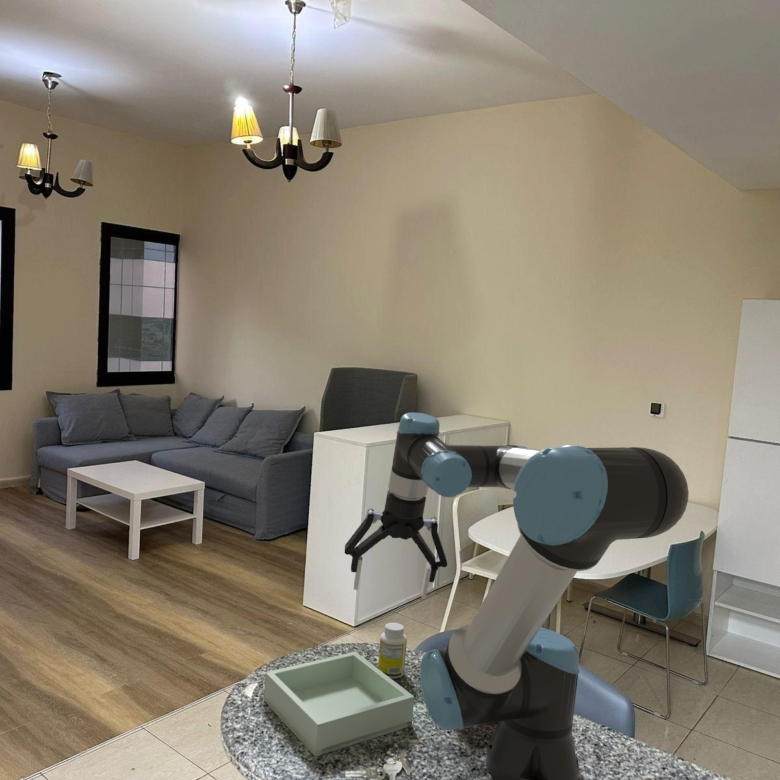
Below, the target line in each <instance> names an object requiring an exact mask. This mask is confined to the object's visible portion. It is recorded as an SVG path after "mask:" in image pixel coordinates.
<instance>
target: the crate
mask: <svg viewBox="0 0 780 780" xmlns="http://www.w3.org/2000/svg"><path fill="white" fill-rule="evenodd" d="M263 687H264V689H263V702H264V701H265V702H266V703H267V704H268V705H269V706H268V705H267V704H266V703H265V702H264V703H265V704H266V705H267V706H268V707H269V708H270V709H271V710H272V711H273V712H274V714H276V716H277V717H278V718H279V719H280V720H281V721H282V722H283V723H284V725H286V726H287V727H288V729H289V730H290V731H291V732H292V734H294V735H295V736H296V737H297V739H298V740H299V741H300V742H301V743H302V744H303V745H304V746H305V747H306V748H307V749H308V750H309V752H311V754H313V756H314V757H318V756H322V755H325V754H328V753H331V752H334V751H338V750H341V749H344V748H347V747H349V746H353V745H356V744H359V743H362V742H365V741H368V740H372V739H375V738H377V737H380V736H384V735H387V734H391V733H393V732H396V731H400V730H403V729H407V728H409V727H412V725H413V716H414V715H413V714H414V705H415V696H414V695H413V694H411V693H410V692H409V691H408V690H406V689H405V688H404V687H403V686H401V685H400V684H398V683H397V682H396V681H394V679H391V678H389V677H388V676H387V675H385V674H384V673H383V672H381V671H380V670H379V669H378V667H376V666H375V665H374V664H372V663H371V662H370V661H369V660H367V659H365V658H364V657H363V656H362V655H361V654H359V653H358V652H357V651H352V652H347V653H344V654H338V655H334V656H331V657H330V656H329V657H326V658H321V659H318V660H313V661H308V662H305V663H300V664H296V665H291V666H287V667H282V668H279V669H274V670H269V671H266V672H265V673H264V686H263Z"/></svg>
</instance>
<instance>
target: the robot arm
mask: <svg viewBox="0 0 780 780" xmlns="http://www.w3.org/2000/svg"><path fill="white" fill-rule="evenodd" d="M440 424H441V423H440V421H439V419H437V417H435V416H432V415H430V414H427V413H422V412H407V413H405V414H403V415H402V416H401V417H400V421H399V425H398V430H397V431H396V438H395V444H394V445H395V446H394V451H393V458H392V465H391V470H390V475H389V482H388V486H387V487H388V490H387V491H386V498H385V499H386V500H385V503H384V509H383V511H382V512H376V511H374V509H373V508H368V509H367V511H366V515H365V518H364V520H363V521H362V522H361V523H360V525H359V526H358V527H357V529H356V530H355V531H354V533H353V534H352V535H351V537H350V538H349V539H348V541H347V542H346V543H345V545H344V554H345V555H347V556H351V557H352V559H351V563H350V572H351V573H355V574H354V581H353V590H356V591H357V590H359V589H358V588H359V583H360V578H361V570H362V564H363V557H364V556H363V555H365V554H366V553H367V552H368V551H369V550H370V549H372V548H373V547H375V546H376V545H377V544H379V542H381V541H382V540H384V539H385V540H386V538H387V537H388V536H390V537H391V539H402V540H406V541H407V540H409V539H412V542H414V543H415V545H416V546H417V547H418V549H419V551H420V552H421V553H422V555H423V556H424V558H425V560H426V563H425V568H424V574H423V578H422V583H421V588H420V589H421V591H420V593H421V599H424V600H426V599H427V593H428V589H429V584H430V583H434V582H435V580H436V576H437V571H438V570H439V568H441V567H442V568H446V567H447V566H448V561H447V556H446V553H445V551H444V547H443V544H442V542H441V541H442V540H441V538H440V535H439V532H438V530H439V523H438V519H437V517H435V516H432V517H431V518H430V519H429V518H424V513H425V506H426V501H427V495H428V490H429V489H430V490H432V491H434V492H435V493H436V494H437V495H439V496H441V497H443V498H454V497H456V496H458V495H460V494H462V493H464V492H465V491H466V490H467V489H468V488H500V489H501V488H502V489H507V490H513V491H514V492H516V493H515V494H516V495H515V497H513V499H512V506H513V507H512V508H513V512H514V517H515V520H516V523H517V524H516V525H517V528H518V531H519V534H520V535H519V537H518V538H517V541H516V542H515V543H514V546H513V548H512V549H511V552H509V555H508V557H507V558H506V559H505V562H504V563H503V565H502V567H501V569H500V571H499V573H498V575H497V576H496V578H495V580H494V581H493V583H492V585H491V587H490V588H489V590H488V592H487V594H486V596H485V598H484V599H483V601H482V604H481V605H480V607H479V608H478V610H477V612H476V614H475V615H474V617H473V618H472V620H471V623H470V624H467V625H464V626H461V627H459V628H458V629H457V630H456V631H455V632H454V633H453V634H452V636H451V637H450V639H449V640H448V643H447V645H446V646H445V647H444V648H440V649H438V648H433V649H431V650H428V651H425V653H424V654H423V655H422V658H421V661H420V668H419V669H420V673H419V674H420V675H419V678H420V684H421V685H420V687H421V691H422V696H423V701H424V704H425V706H426V710H427V712H428V714H429V715H430V718H431V719H432V721H433V723H435V724H436V725H437V726H438V727H439V728H440V729H441V730H444V731H450V730H451V731H452V730H461V731H462V730H464V729H468V728H472V727H473V728H474V727H478V726H485V725H489V724H494V723H495V722H498V723H497V725H496V728H495V729H494V731H493V733H492V736H491V738H490V741H489V742H488V745H487V748H486V757H485V758H486V759H485V763H486V764H485V765H486V767H487V770H488V772H489V774H491V776H492V778H494V780H579V778H580V777H579V774H580V763H579V759H578V756H577V755H576V749H575V748H576V747H575V742H574V736H573V725H574V724H573V722H574V714H575V706H576V705H575V704H576V695H577V687H578V680H579V679H578V678H579V674H580V669H579V659H580V653H579V649H578V647H577V646H576V645H575V643H574V642H573V641H572V640H570V639H569V638H568V637H566V636H564V635H562V634H560V633H559V632H556V631H554V630H550V629H548V628H544V627H543V625H544V624H545V622H546V620H547V619H548V617H549V615H550V614H551V612H552V611H553V609H554V608H555V606H556V605H557V603H558V602H559V600H560V599H561V597H562V596H563V595H564V593H565V591H566V590H567V588H568V587H569V585H570V583H571V582H572V580H573V579H574V577H575V576H576V575H577V573H578V572H583V571H589V570H591V569H592V568H594V567H595V566H597V565H598V564H599V562H600V560H601V559H602V558H603V556H604V555H605V554H606V552H607V550H608V549H609V547H610V546H611V544H613V543H614V542H615V541H617V540H621V541H622V540H634V539H635V540H636V539H647V538H652V537H656V536H659V535H662V534H664V533H666V532H667V531H669V530H671V529H672V528H673V527H675V526H676V524H678V522H679V521H680V520H681V519H682V517H684V516H683V515H684V513H685V512H686V509H687V506H688V504H689V503H688V502H689V485H688V484H689V483H688V482H687V479H686V476H685V474H684V472H683V470H682V469H681V467H680V466H679V465H678V464H677V462H675V460H673V459H672V458H671V457H670V456H668V455H666V454H665V453H663V452H661V451H658V450H655V449H651V448H647V447H637V446H636V447H634V446H631V447H626V446H625V447H622V446H621V447H620V446H619V447H586V446H585V447H584V446H581V445H574V444H573V445H563V446H558V447H547V448H545V449H537V448H528V447H527V446H521V445H513V444H506V445H474V444H473V445H470V444H469V445H467V444H465V445H462V444H456V445H454V444H447V443H446V442H444V441H443V440H442V439H441V438H439V435H440ZM377 521H380V522H381V525H380V526H379V527H378V528H377V529H376V530H375V531H374V532H373V533H371V534H370V535H369V536H367V538H366V539H364V540H363V541H362V542H361V540H362V539H363V538H364V537H365V535H366V534H367V532H368V531H369V530H370V529H371V526H372V524H376V523H377ZM423 527H425V528H426V529H427V531H428V532H430V533H431V538H432V541H433V544H434V547H435V550H436V554H437V556H438V557H437V558H436V557H435V555H434V553H433V552H432V550H431V548H429V546H428V544H427V543H426V541H425V539H424V538H423V536H422V535H421V532H420V531H421V530H422V529H423Z"/></svg>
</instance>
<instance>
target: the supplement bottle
mask: <svg viewBox="0 0 780 780" xmlns="http://www.w3.org/2000/svg"><path fill="white" fill-rule="evenodd" d="M404 630H405V626H404V625H403V624H401V623H398V622H388V623H385V625H384V631H383V632H382V633H381V634H380V639H379V651H378V664H377V665H378V666H377V668H378V669H379V670H380V671H381V672H383V673H384V674H385V675H387V676H388V677H389V678H391V679H392V680H394V679H395V680H396V679H399V678H401V677H403V676H404V674H405V670H406V669H405V668H406V667H405V665H406V655H407V643H408V639H407V638H408V637H407V636H406V634H405V632H404Z"/></svg>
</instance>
